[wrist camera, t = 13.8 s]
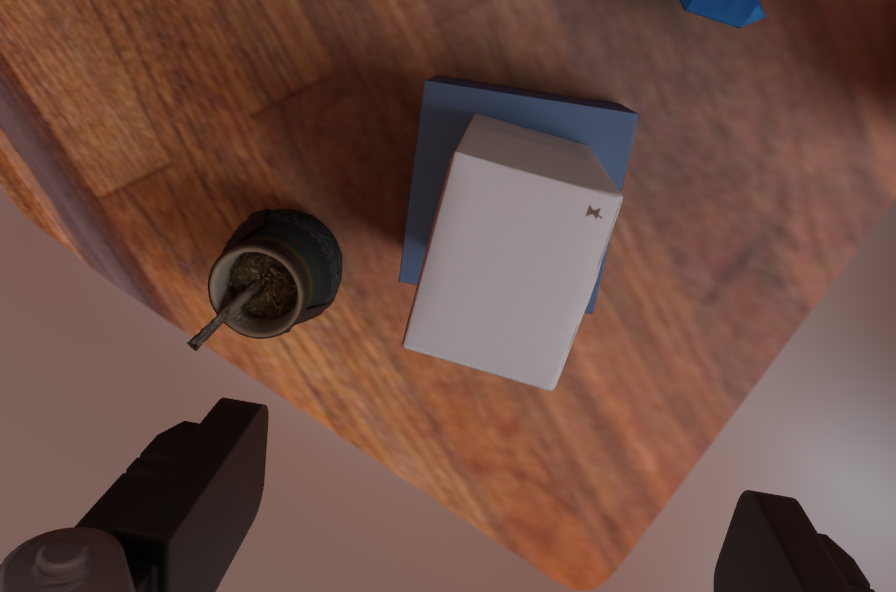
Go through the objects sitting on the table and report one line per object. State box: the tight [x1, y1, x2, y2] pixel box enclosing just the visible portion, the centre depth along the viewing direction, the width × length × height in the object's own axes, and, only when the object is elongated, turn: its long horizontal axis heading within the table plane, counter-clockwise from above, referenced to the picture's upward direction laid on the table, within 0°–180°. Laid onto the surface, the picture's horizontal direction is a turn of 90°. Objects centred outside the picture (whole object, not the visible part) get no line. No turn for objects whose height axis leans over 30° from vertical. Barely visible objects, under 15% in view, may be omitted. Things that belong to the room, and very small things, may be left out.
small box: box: [402, 114, 623, 391], centre depth 32 cm, size 8×6×13 cm
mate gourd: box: [187, 209, 342, 351], centre depth 42 cm, size 7×8×10 cm
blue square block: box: [399, 76, 639, 314], centre depth 41 cm, size 11×11×6 cm
